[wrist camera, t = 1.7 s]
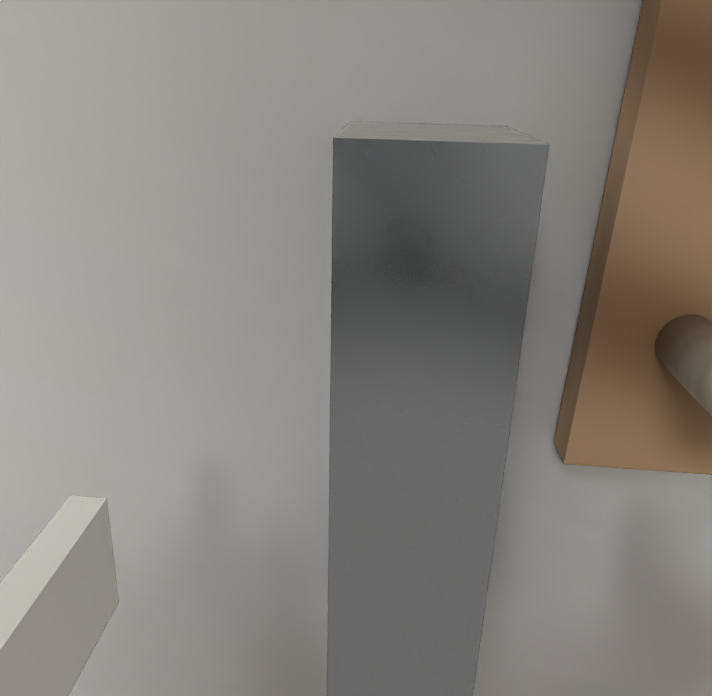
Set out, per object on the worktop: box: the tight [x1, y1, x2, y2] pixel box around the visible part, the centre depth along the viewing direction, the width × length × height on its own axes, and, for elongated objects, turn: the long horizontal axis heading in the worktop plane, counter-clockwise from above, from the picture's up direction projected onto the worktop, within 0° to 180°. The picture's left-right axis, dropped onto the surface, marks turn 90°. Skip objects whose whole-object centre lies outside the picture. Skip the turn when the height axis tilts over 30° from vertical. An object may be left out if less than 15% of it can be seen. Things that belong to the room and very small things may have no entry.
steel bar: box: [327, 121, 549, 696], centre depth 17 cm, size 16×4×5 cm, turn 178°
